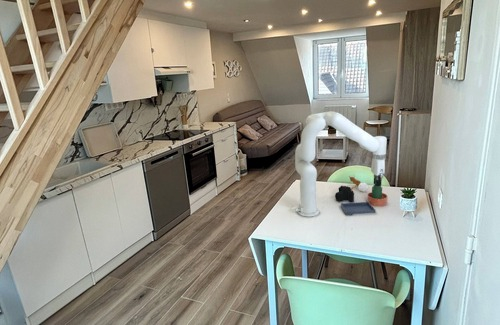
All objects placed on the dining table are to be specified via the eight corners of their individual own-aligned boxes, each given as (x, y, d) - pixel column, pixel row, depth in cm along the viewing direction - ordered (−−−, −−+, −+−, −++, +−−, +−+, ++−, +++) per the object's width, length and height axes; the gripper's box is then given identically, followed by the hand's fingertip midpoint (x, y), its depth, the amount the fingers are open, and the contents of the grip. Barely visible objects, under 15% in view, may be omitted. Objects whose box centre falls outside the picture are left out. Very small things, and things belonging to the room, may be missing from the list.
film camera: (330, 197, 213) (330, 184, 210) (343, 194, 215) (343, 182, 212) (343, 205, 198) (343, 192, 196) (356, 202, 201) (356, 189, 198)
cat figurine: (367, 180, 211) (350, 169, 226) (354, 190, 210) (338, 179, 225) (372, 192, 218) (356, 180, 233) (360, 202, 217) (344, 190, 232)
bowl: (371, 208, 192) (371, 199, 190) (364, 200, 204) (364, 192, 202) (390, 206, 192) (391, 198, 190) (382, 199, 203) (382, 191, 202)
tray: (346, 215, 185) (346, 211, 184) (340, 206, 196) (340, 203, 196) (375, 213, 184) (375, 209, 184) (367, 205, 196) (368, 201, 195)
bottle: (373, 204, 195) (374, 178, 190) (369, 200, 200) (371, 175, 196) (382, 203, 194) (384, 177, 190) (379, 200, 200) (380, 174, 195)
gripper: (368, 153, 197) (366, 180, 202) (378, 160, 181) (376, 189, 186) (379, 152, 197) (378, 180, 202) (390, 159, 181) (388, 189, 186)
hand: (377, 184), depth 194 cm, fingers closed on bottle, 2 cm apart
